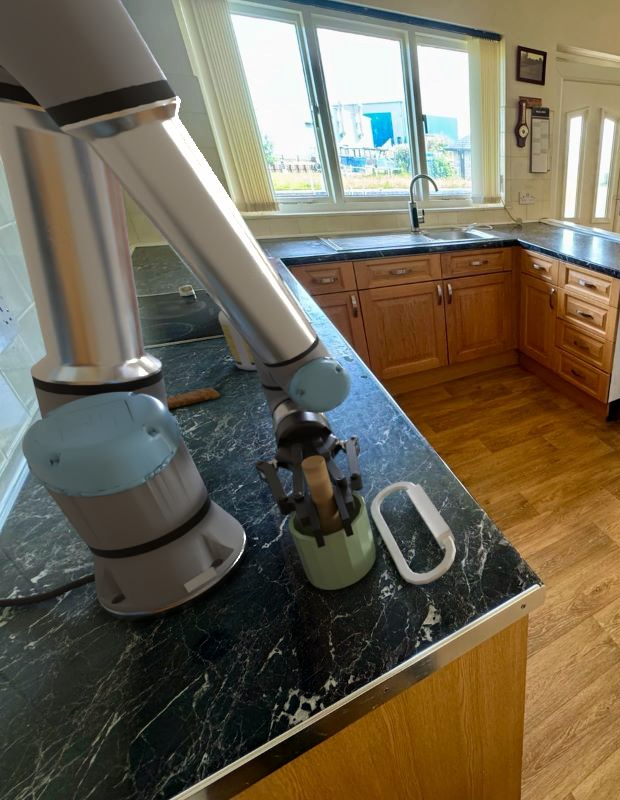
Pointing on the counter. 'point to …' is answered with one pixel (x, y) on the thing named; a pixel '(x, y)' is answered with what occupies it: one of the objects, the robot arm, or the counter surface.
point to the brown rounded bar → (192, 397)
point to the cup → (336, 550)
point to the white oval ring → (432, 522)
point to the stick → (322, 494)
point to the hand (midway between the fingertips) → (333, 532)
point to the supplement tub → (237, 345)
